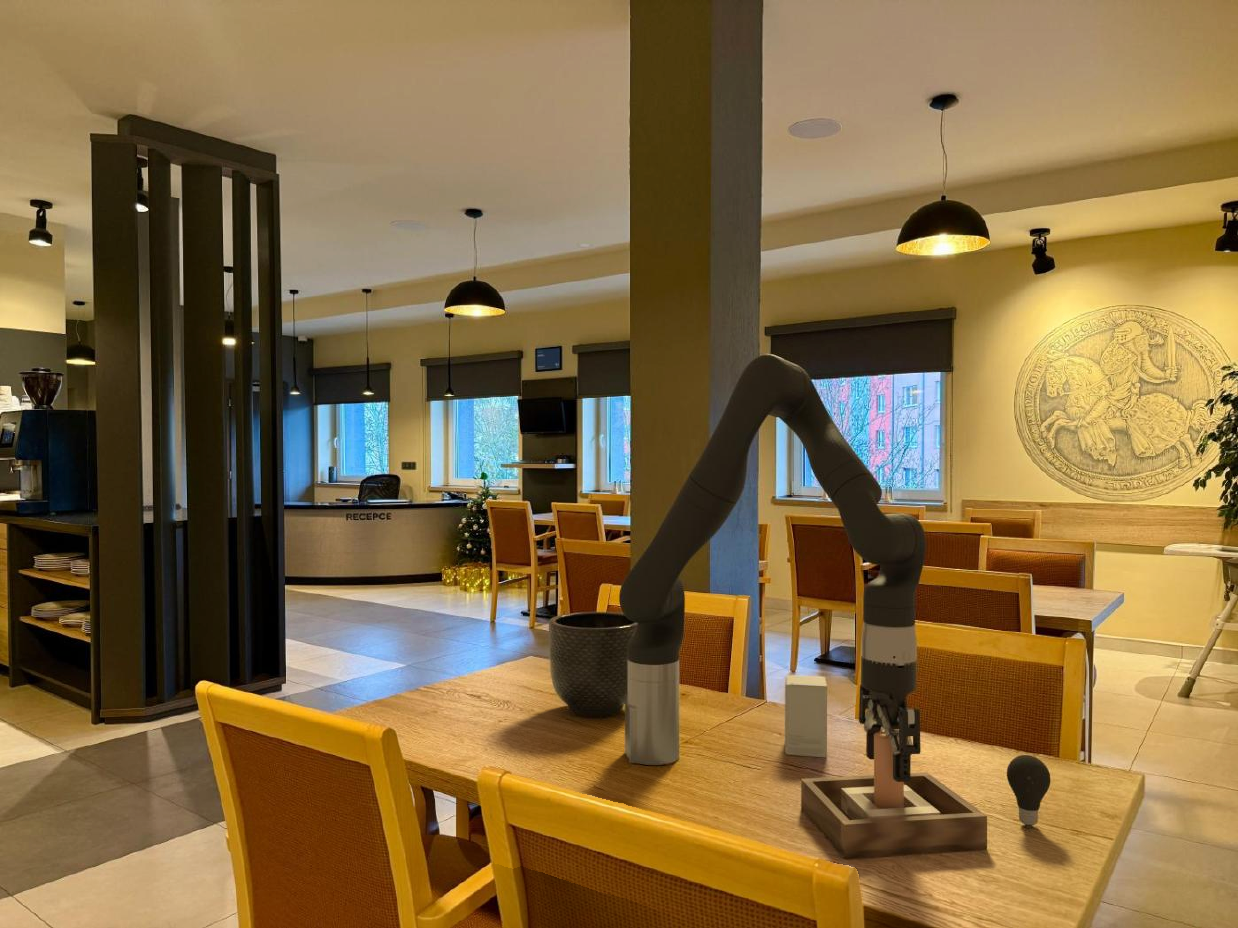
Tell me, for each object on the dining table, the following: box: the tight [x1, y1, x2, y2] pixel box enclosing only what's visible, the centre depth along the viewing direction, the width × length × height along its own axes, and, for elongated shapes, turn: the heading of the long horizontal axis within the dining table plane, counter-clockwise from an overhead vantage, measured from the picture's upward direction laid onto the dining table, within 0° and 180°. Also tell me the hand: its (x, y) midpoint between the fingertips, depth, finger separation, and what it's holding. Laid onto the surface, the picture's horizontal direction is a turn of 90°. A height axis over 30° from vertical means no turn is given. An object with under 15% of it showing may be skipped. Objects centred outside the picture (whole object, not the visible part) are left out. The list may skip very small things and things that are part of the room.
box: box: [800, 772, 988, 860], centre depth 118 cm, size 20×16×4 cm
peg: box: [873, 731, 904, 809], centre depth 118 cm, size 4×4×12 cm
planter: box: [548, 611, 638, 719], centre depth 175 cm, size 20×20×19 cm
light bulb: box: [1006, 754, 1052, 828], centre depth 119 cm, size 6×6×10 cm
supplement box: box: [784, 674, 828, 758], centre depth 151 cm, size 7×7×13 cm
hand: (887, 769), depth 118 cm, fingers open, 8 cm apart
